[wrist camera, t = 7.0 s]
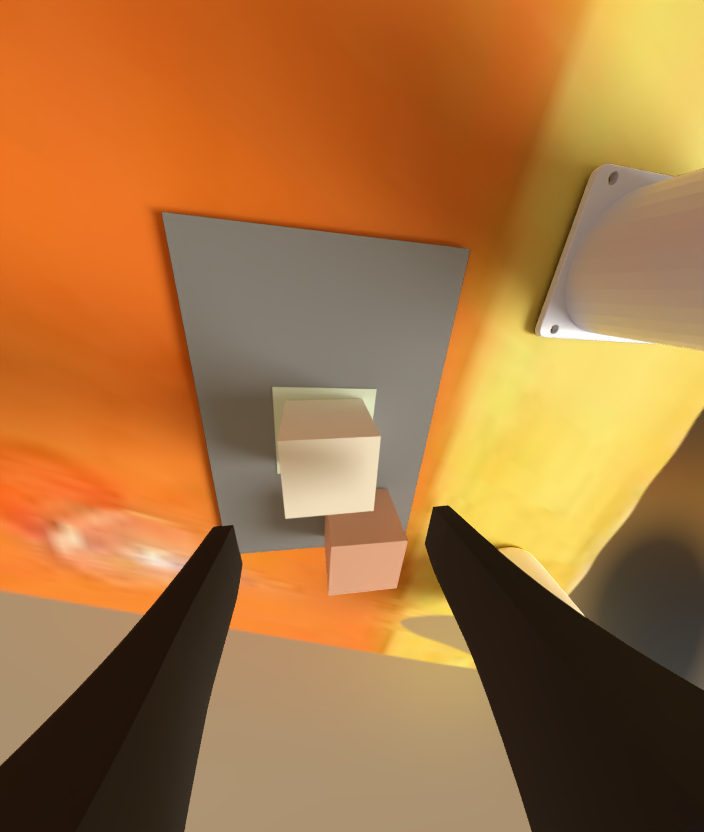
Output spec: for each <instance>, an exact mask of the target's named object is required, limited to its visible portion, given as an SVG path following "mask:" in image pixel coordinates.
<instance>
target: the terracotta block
mask: <svg viewBox="0 0 704 832" xmlns="http://www.w3.org/2000/svg"><path fill="white" fill-rule="evenodd" d="M324 539H325V554H326V569H327V584H328V596H332V595H341V594H349V593H358V592H367V591H376V590H384V589H393V588H397V584H398V580H399V576H400V572H401V568H402V564H403V559H404V555H405V551H406V547H407V543H408V539H407V537H406V534H405V532H404V529H403V527H402V524H401V522H400V519H399V517H398V514H397V512H396V509H395V507H394V504H393V502H392V499H391V497H390V494H389V492H388V489H387V488H382V489H376V492H375V502H374V511H366V512H355V513H344V514H333V515H325V531H324Z"/></svg>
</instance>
